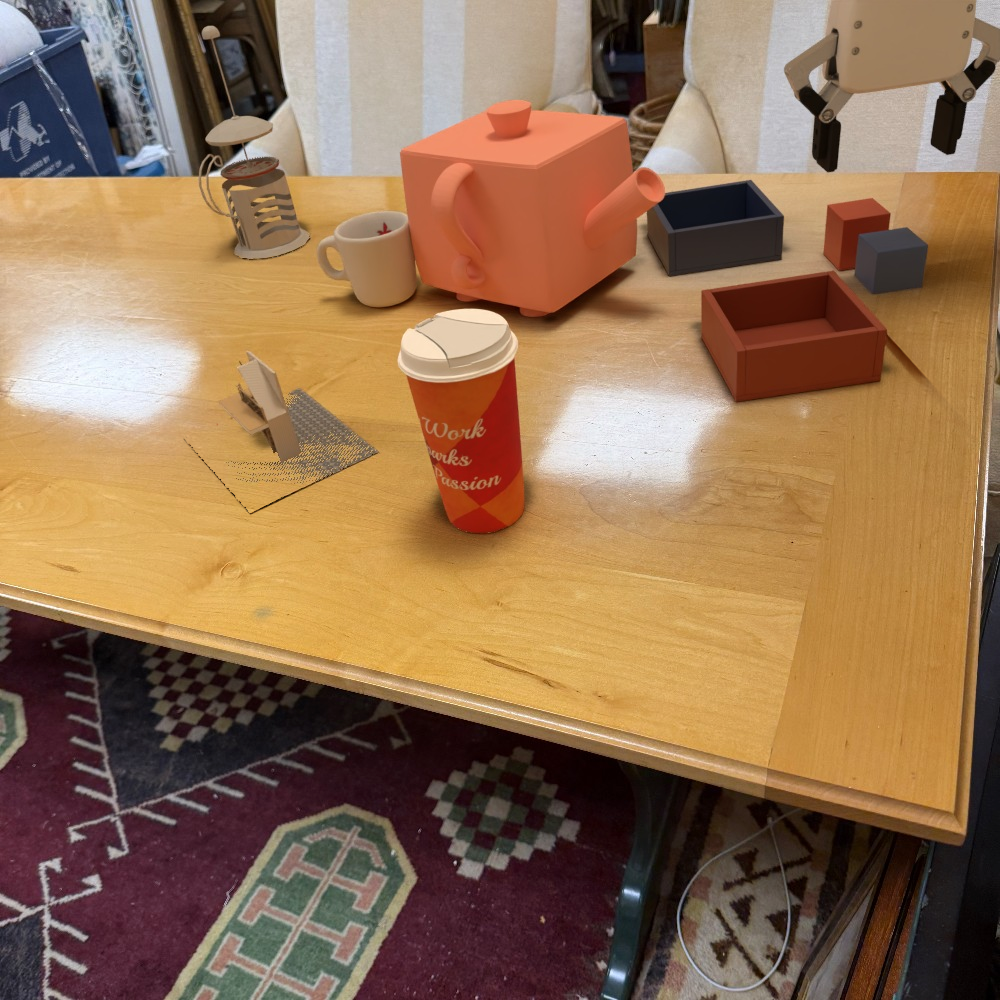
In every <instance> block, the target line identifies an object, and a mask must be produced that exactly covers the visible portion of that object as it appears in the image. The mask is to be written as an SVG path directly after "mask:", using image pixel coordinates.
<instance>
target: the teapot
mask: <svg viewBox="0 0 1000 1000" xmlns="http://www.w3.org/2000/svg"><path fill="white" fill-rule="evenodd" d="M628 128H629V126H628V121H627V120H626V118H625V117H619V116H611V115H600V114H592V113H591V114H590V113H589V114H588V113H580V112H579V113H578V112H568V111H553V110H537V109H536V110H535V109H532V103H531V102H530V101H527V100H522V99H511V100H509V99H508V100H504V101H500V102H497V103H494V104H492V105H490V106H489V107H487V108H486V109H485V111H482V112H480V113H478V114H475V115H474V116H471V117H468V118H466V119H464V120H461V121H460V122H457V123H456V124H455V123H454V124H453V125H450V126H448V127H446V128H444V129H442V130H439V131H437V132H435V133H433V134H431V135H429V136H427V137H424V138H422V139H419V140H418V141H416V142H414V143H412V144H410V145H407V146H405V147H403V148H401V150H400V152H399V158H400V167H401V175H402V176H401V177H402V183H403V192H404V200H405V208H406V214H407V215H408V222H409V228H410V234H411V240H412V246H413V251H414V257H415V264H416V268H417V270H418V274H419V277H420V280H421V283H422V284H424V285H428V286H430V287H434V288H437V289H441V290H444V291H447V292H452V293H456V295H455V296H456V299H457V300H459V301H461V302H476V301H479V300H485V301H489V302H494V303H499V304H504V305H509V306H513V307H517V308H519V313H520V315H522V316H525V317H529V318H537V317H543V316H547V315H549V314H552V313H555V312H557V311H559V310H560V309H561V308H563V307H565V306H566V305H567V304H570V303H571V302H572V301H574V300H575V299H576V298H578V297H580V296H581V295H582V294H584V293H585V292H587V291H588V290H589V289H591V288H592V287H594V286H595V285H597V284H599V282H601V281H603V280H604V279H605V278H607V277H608V276H609V275H611V274H613V273H614V272H615V271H616V270H618V269H619V268H620V267H622V266H624V265H626V263H628V262H629V261H631V260H632V259H634V257H636V255H637V244H638V243H637V242H638V219H639V218H640V217H642V216H643V215H644V214H646V213H647V211H648V210H649V209H651V208H652V207H653V206H655V205H656V204H658V203H659V202H660V201H661V200H662V199H663V198H664V196H665V193H666V189H665V184H664V182H663V180H662V179H661V177H660V176H659V175H658V174H657V172H655V171H654V170H653V169H651V168H649V167H646V166H642V167H639V168H638V169H636V170H635V171H634V169H633V160H632V151H631V142H630V135H629V129H628Z"/></svg>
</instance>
